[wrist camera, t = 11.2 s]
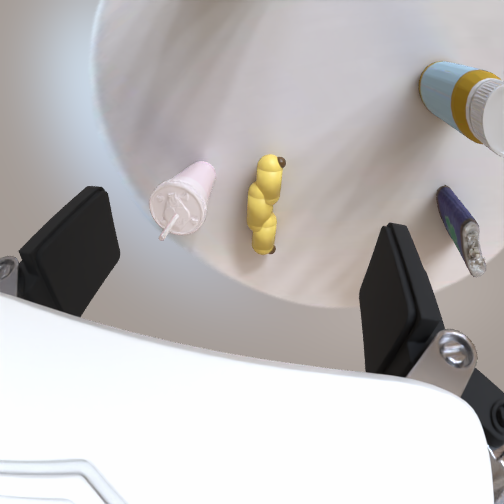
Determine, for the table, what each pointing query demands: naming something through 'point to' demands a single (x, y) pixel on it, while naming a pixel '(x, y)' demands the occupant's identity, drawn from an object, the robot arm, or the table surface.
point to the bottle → (466, 101)
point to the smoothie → (183, 200)
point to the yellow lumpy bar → (264, 203)
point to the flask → (461, 229)
